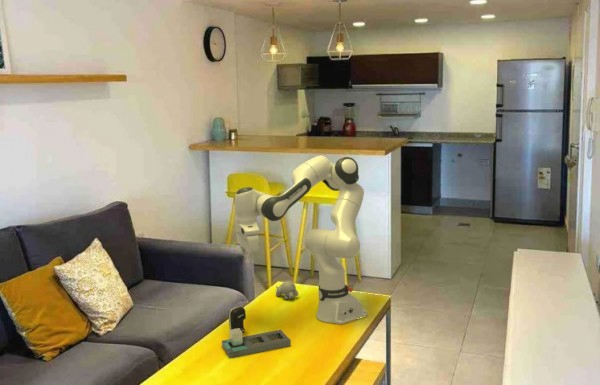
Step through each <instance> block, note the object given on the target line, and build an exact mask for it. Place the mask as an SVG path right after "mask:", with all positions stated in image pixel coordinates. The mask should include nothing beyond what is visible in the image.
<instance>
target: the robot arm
mask: <svg viewBox="0 0 600 385" xmlns="http://www.w3.org/2000/svg"><path fill="white" fill-rule="evenodd" d="M359 178H360V177H359V164H358V162H357V161H356V160H355V159H354V158H352V157H350V156H344V157H342V158H340V159H337V160H336V162H335V163H333V162H331V161H330V159H329V158H327V157H326V156H325V155H321V154H320V155H317V156H314V157H312V158H310V159H308V160H306V161H304V162H303V163H301V164H300V165H298V166H297V167H296V168H295V169H294V170H293V171H292V174H291V181H292V183H293V184H292V186H291V187H290V188H288V189H287V190H286V191H285V192H284V193H282V194H281V195H271V194H268V193H266V192H262V191H259V190H256V189H255V188H253V187H250V186H248V187H247V186H246V187H242V188H239V189H238V190H237V191H236V192H235V197H234V210H235V220H234V221H235V231H236V234H235V235H236V236H235V237H236V238H235V239H236V242H237V244H239V245H240V251H241V255H242V256H246V255H247V253H248V256H247V260H248V261H249V262H253V261H254V257H255V253H258V251H259V246H260V245H259V244H260V243H259V242H260V241H259V240H260V238H259V234H261V233H260V228H259V225H258V223H257V217H259V216H261V217H264V218H266V219H267V220H269V221H271V222H278V221H280V220H281V219H282V218H284V217H285V215H286V214H287V213H288V211H289V209H291V208H292V207H293V206H294V205H295V204H296V203H297V202H298V201H300V200H301V199H302V198H304V197H305V196H306V195H308V193H309V192H310V190H311V189H312V188H314V187H315V186H316V185H317V184H319V183H320V182H322V183H324V184H325V185H326V187H327V188H328V189H329V190H331V191H334V192H339V194H338V196H337V199H336V200H335V202H334V205H333V207H332V209H331V213H330V220H331V221H332V223H333V224H334V225H335V229H334V230H332V229H331V230H330V229H327V228H326V229H325V228H314V229H310V230H309V231H307V233H306V234H305V237H304V244H305V247H306V249H307V250H308V251H309V252H310V253H311V255H312V256H313V258H314V260H315V263H316V264H317V265H316V266H317V268H318V276H319V285H318V292H317V293H318V306H317V307H318V308H317V312H316V316H315V317H316V319H317V320H319V321H321V322H323V323H328V324H329V323H332V324H338V325H345V324H348V323H350V322H349V321H351V322H353V321H352V320H354V321H356V320H355V319H357V318H360V317H364V316H367V317H368V313H367V310H366V309H364V307H362V306H363V305H362V303H361V301H360V300H359V298H357V297H356V296H354V295H353V294H351V293H352V292H353V290H354V288H353V287H351V286H348V285H347V284H346V282H345V281H346V279H345V278H346V277H345V276H346V274H345V272H346V270H345V268H344V266H343V265H342V264H341V263H340V262H339V261H338V260H337V258H339V259H353V258H355V257H356V256H357V255H358V253H359V251H360V249H361V248H360V247H361V244H360V240H359V238H358V236H357V235H356V234H355V223H356V219H357V217H358V214H359V212H360V209H361V207H362V203H363V200H364V195H365V191H364V190H365V189H364V188H363V187H362V186H361V185H360V184H359V183H357V182H358V181H359ZM364 318H365V317H364ZM347 322H348V323H347Z"/></svg>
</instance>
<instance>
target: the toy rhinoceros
mask: <svg viewBox="0 0 600 385" xmlns="http://www.w3.org/2000/svg"><path fill="white" fill-rule="evenodd" d="M275 288H276V289H275V295H276V297H281V296H282V295H283V298H284V300H286V301H287V300H289V299H290V300H291V299H294V298H295V297H297V296H299V292H298V290H297V287H296V284H295V283H294V282H293V281H292V280H285V281H283V282H282V284H279V286H275Z"/></svg>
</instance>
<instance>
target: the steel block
mask: <svg viewBox="0 0 600 385" xmlns="http://www.w3.org/2000/svg"><path fill="white" fill-rule="evenodd" d="M228 332H229V339H230V347H231V348H235V347H240V346H243V339H242V337H243V334H242V331H241V330H240V328H237V329H231V330H230V329H229V331H228Z"/></svg>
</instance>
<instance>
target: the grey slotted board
mask: <svg viewBox="0 0 600 385" xmlns="http://www.w3.org/2000/svg"><path fill="white" fill-rule="evenodd" d="M242 339H243V346H240V347H235V348H231V347H230V338H227V339H224V340H221V347H222V349H223V350H224V352H225V355H227V357H228V358H229V359H232V358H238V357H239V358H240V357H243V356H247V355H254V354H258V353H259V354H260V353H263V352H267V351H268V352H269V351H272V350H278V349H283V348H287V347H291V344H292V343H291V342H292V340H291V339H290V338H289V336H288V335H287V334H286V333H285V332H284V331H283V330H282V329H277V330H272V331H267V332H261V333H256V334H251V335H244V336H242Z"/></svg>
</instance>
